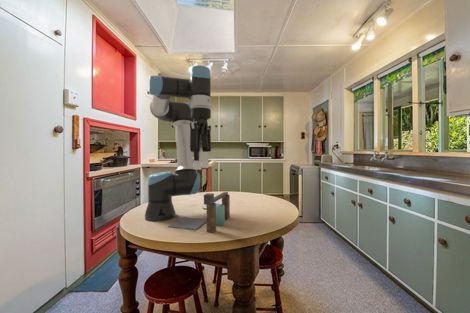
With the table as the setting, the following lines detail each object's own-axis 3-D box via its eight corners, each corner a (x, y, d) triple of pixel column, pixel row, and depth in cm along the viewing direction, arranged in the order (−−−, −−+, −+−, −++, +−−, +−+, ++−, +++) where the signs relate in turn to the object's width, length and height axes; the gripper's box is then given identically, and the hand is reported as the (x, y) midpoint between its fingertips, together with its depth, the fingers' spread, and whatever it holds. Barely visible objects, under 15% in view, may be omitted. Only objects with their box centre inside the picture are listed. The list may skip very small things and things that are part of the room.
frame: (206, 232, 94) (206, 204, 94) (224, 217, 114) (224, 194, 114) (213, 232, 93) (213, 204, 93) (229, 217, 113) (229, 194, 113)
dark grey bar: (203, 204, 91) (203, 194, 91) (223, 194, 113) (223, 185, 113) (210, 205, 90) (210, 195, 90) (228, 194, 112) (228, 186, 112)
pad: (168, 226, 101) (168, 225, 101) (184, 217, 114) (184, 216, 114) (195, 230, 96) (195, 229, 96) (209, 220, 110) (209, 219, 110)
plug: (212, 225, 102) (212, 206, 102) (216, 222, 107) (216, 203, 107) (222, 226, 101) (222, 207, 100) (226, 223, 105) (225, 204, 105)
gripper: (198, 103, 75) (199, 171, 76) (219, 111, 93) (219, 166, 93) (178, 104, 77) (179, 170, 78) (202, 112, 95) (203, 166, 96)
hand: (201, 168), depth 86 cm, fingers open, 6 cm apart
